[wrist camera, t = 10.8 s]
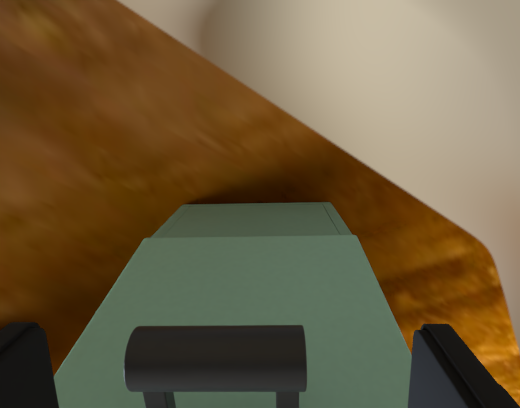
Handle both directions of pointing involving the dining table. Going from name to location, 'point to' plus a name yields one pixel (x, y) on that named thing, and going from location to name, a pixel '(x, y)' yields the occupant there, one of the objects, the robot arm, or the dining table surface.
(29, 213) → the dining table surface
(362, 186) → the dining table surface
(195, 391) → the box lid
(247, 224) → the mint green cubby
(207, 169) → the dining table surface
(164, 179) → the dining table surface
